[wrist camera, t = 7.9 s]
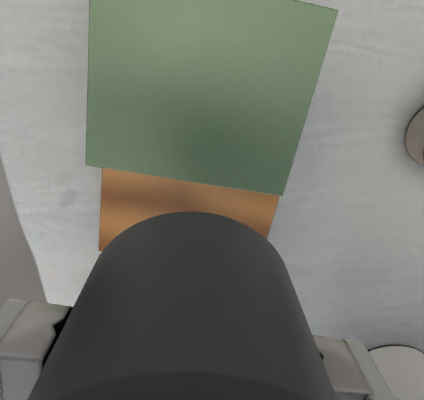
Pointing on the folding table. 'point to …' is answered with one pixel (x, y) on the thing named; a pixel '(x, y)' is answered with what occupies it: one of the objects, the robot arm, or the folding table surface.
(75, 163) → the folding table surface
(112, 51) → the shelf
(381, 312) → the folding table surface
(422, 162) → the coffee cup
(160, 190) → the copper sheet
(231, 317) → the tape roll
